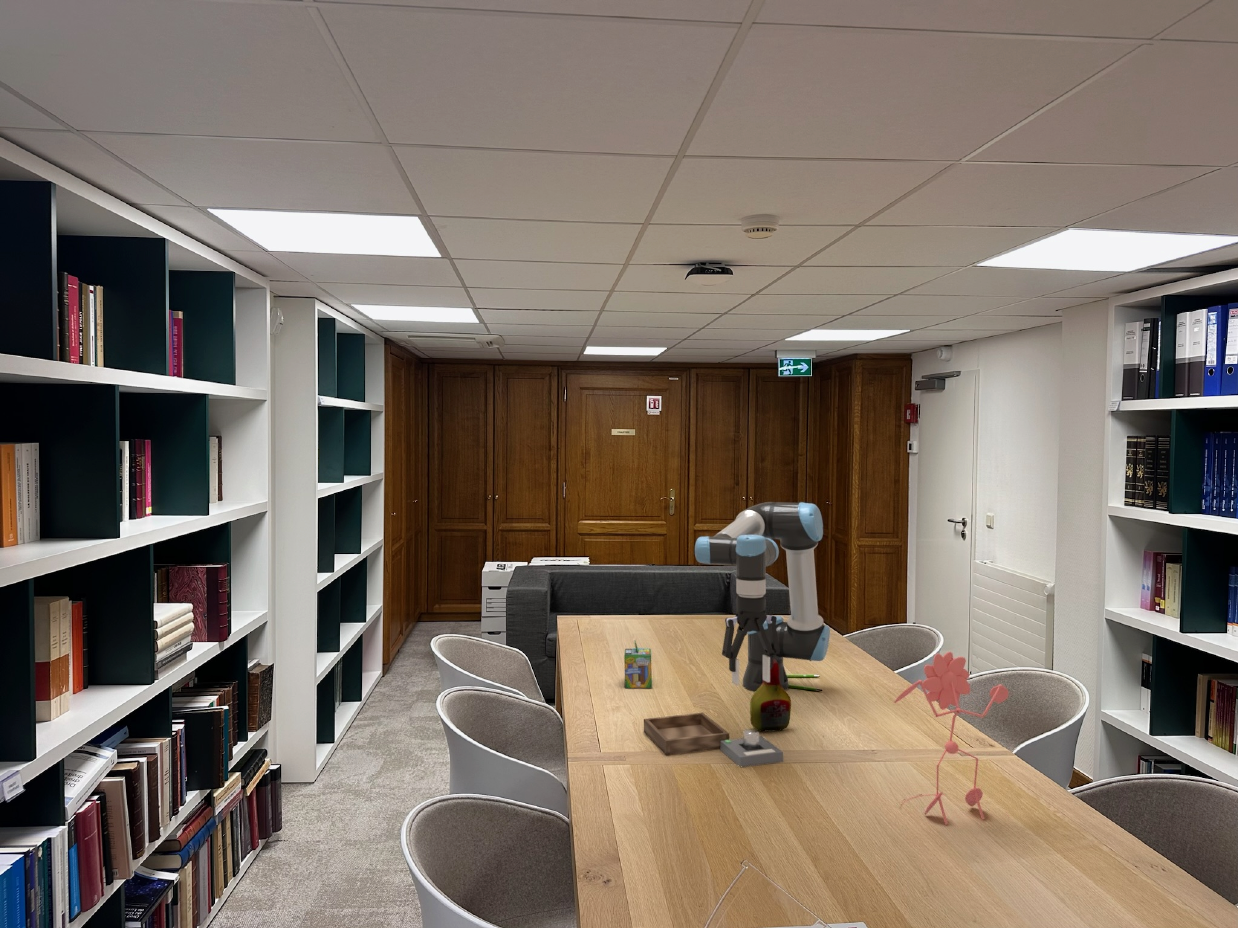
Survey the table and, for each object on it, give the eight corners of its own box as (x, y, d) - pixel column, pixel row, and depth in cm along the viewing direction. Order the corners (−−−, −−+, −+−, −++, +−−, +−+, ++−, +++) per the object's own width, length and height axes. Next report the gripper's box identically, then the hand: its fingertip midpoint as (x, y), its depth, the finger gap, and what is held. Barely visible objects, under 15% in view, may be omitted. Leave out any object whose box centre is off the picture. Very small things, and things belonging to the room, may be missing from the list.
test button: (754, 745, 213) (754, 728, 213) (761, 750, 209) (761, 733, 209) (740, 746, 212) (740, 730, 212) (747, 752, 208) (747, 735, 208)
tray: (702, 725, 233) (702, 712, 233) (729, 747, 216) (729, 733, 216) (643, 732, 228) (643, 718, 228) (666, 755, 211) (665, 740, 211)
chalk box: (651, 688, 269) (651, 644, 269) (624, 688, 269) (624, 644, 269) (651, 680, 278) (651, 638, 278) (625, 680, 279) (625, 638, 278)
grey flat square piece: (761, 745, 218) (761, 734, 218) (783, 761, 206) (783, 750, 206) (720, 750, 214) (720, 739, 214) (740, 767, 203) (740, 755, 203)
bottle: (788, 725, 233) (788, 656, 233) (794, 732, 227) (794, 662, 227) (747, 726, 232) (747, 657, 232) (752, 734, 226) (752, 663, 226)
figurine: (1020, 816, 175) (1017, 654, 175) (915, 831, 168) (912, 663, 168) (972, 789, 190) (970, 640, 190) (874, 802, 183) (872, 647, 183)
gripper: (780, 590, 216) (780, 674, 217) (707, 594, 210) (708, 681, 210) (794, 595, 209) (794, 682, 209) (719, 599, 203) (720, 690, 203)
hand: (751, 682), depth 210 cm, fingers open, 8 cm apart
